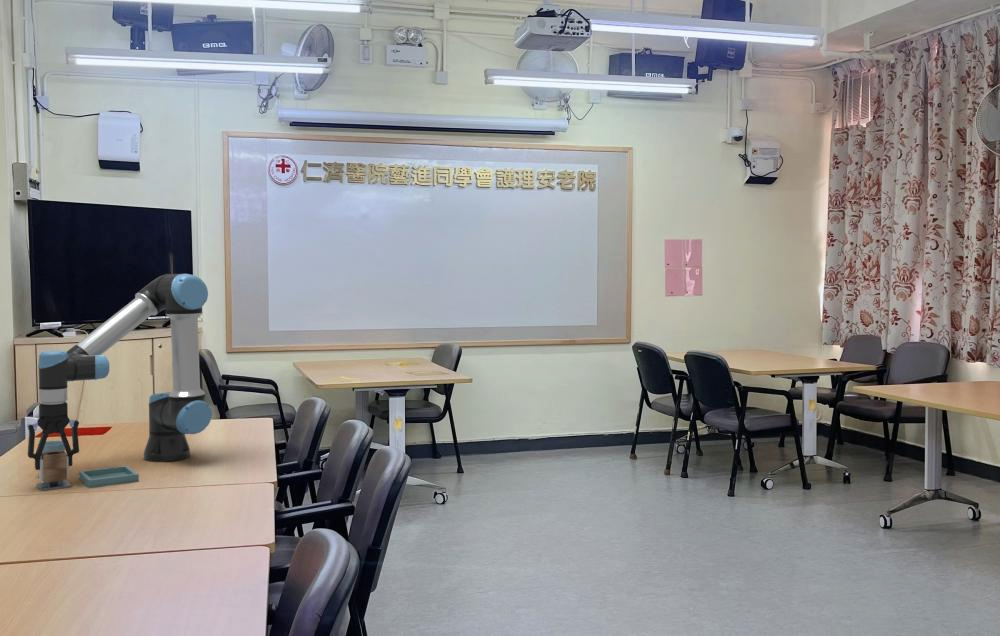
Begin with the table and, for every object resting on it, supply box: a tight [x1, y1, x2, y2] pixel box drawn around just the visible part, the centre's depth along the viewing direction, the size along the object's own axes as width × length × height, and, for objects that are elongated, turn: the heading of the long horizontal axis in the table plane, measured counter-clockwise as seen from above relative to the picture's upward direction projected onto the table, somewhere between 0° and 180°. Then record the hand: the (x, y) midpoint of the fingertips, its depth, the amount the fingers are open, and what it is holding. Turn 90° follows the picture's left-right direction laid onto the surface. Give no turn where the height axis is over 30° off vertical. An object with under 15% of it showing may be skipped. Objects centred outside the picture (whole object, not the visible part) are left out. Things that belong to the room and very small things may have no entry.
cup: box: [43, 440, 66, 453], centre depth 254 cm, size 8×8×10 cm
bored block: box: [41, 450, 68, 483], centre depth 241 cm, size 6×6×8 cm
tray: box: [78, 465, 140, 489], centre depth 250 cm, size 14×14×2 cm
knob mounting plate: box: [36, 479, 72, 492], centre depth 242 cm, size 8×8×6 cm
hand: (53, 478), depth 242 cm, fingers closed on bored block, 6 cm apart
